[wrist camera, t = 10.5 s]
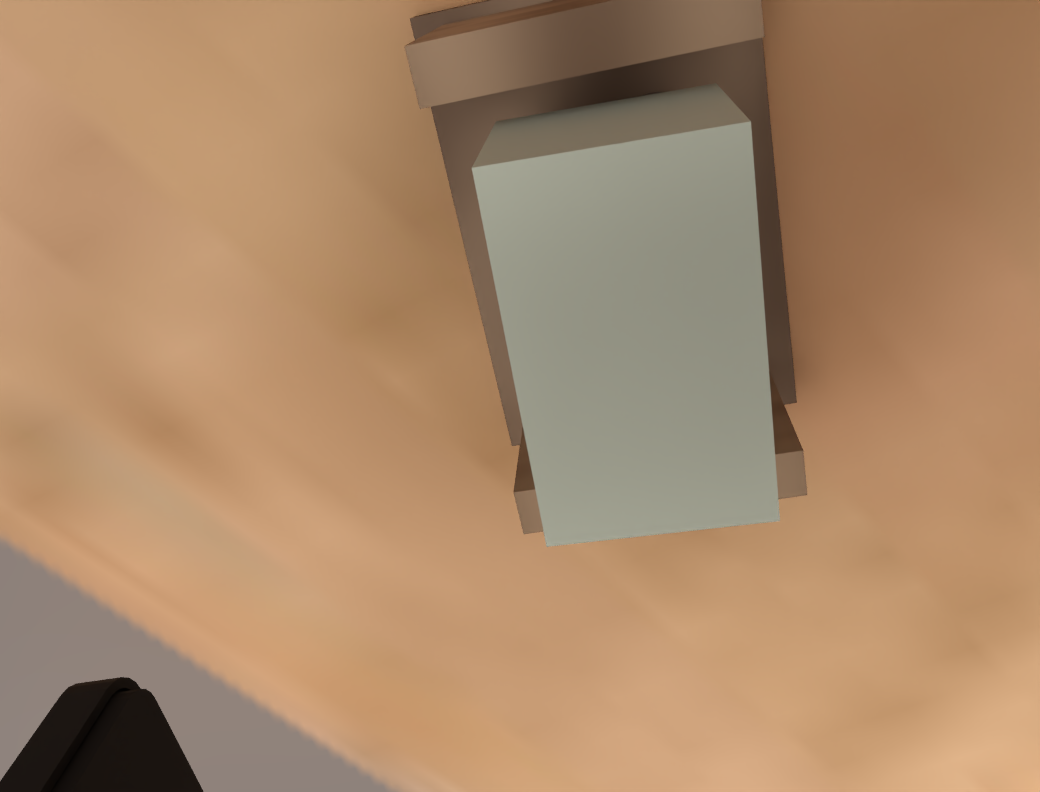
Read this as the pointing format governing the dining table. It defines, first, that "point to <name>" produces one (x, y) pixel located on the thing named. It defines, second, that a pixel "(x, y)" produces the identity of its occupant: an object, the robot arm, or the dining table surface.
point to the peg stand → (586, 81)
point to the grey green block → (634, 313)
